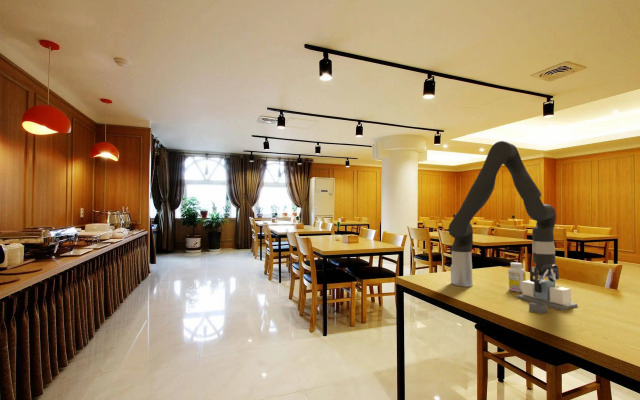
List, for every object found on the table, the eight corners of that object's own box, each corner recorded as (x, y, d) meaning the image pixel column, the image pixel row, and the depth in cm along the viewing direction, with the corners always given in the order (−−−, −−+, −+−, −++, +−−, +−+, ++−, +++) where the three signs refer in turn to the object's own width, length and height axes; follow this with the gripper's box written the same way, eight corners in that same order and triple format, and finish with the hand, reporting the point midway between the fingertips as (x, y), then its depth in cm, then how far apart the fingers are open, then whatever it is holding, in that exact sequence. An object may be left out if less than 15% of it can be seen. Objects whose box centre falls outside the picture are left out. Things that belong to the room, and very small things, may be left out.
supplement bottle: (520, 288, 139) (519, 261, 140) (529, 292, 133) (528, 264, 133) (506, 288, 140) (505, 261, 140) (514, 292, 133) (512, 264, 134)
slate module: (535, 297, 120) (535, 280, 121) (543, 296, 122) (542, 279, 122) (547, 300, 116) (546, 283, 116) (555, 299, 118) (554, 281, 118)
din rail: (516, 297, 125) (516, 281, 126) (532, 294, 129) (531, 279, 129) (561, 310, 109) (560, 291, 110) (577, 306, 113) (576, 288, 113)
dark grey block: (529, 310, 110) (528, 302, 110) (536, 309, 111) (536, 301, 111) (540, 314, 106) (540, 306, 106) (547, 312, 107) (547, 304, 108)
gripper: (545, 249, 126) (546, 287, 125) (522, 251, 121) (524, 290, 120) (564, 252, 119) (566, 291, 118) (541, 254, 114) (543, 295, 113)
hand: (545, 291), depth 119 cm, fingers open, 8 cm apart
